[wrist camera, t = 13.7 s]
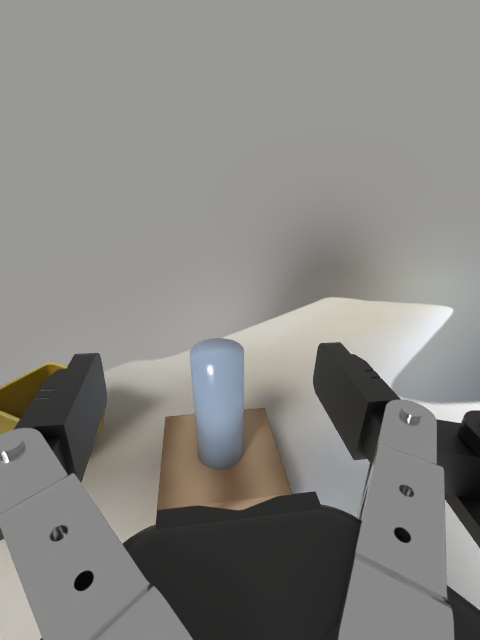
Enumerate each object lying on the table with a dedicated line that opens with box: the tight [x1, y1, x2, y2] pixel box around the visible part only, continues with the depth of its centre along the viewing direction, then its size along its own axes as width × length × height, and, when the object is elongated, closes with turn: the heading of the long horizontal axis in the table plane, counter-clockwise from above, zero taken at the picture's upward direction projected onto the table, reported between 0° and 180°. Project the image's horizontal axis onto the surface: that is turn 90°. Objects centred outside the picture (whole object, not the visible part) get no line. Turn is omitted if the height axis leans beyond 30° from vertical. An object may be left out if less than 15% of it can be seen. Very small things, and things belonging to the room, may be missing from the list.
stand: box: [157, 408, 292, 510], centre depth 35 cm, size 12×12×3 cm
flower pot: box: [0, 362, 105, 440], centre depth 36 cm, size 9×9×9 cm
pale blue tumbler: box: [190, 338, 244, 469], centre depth 32 cm, size 5×5×12 cm
